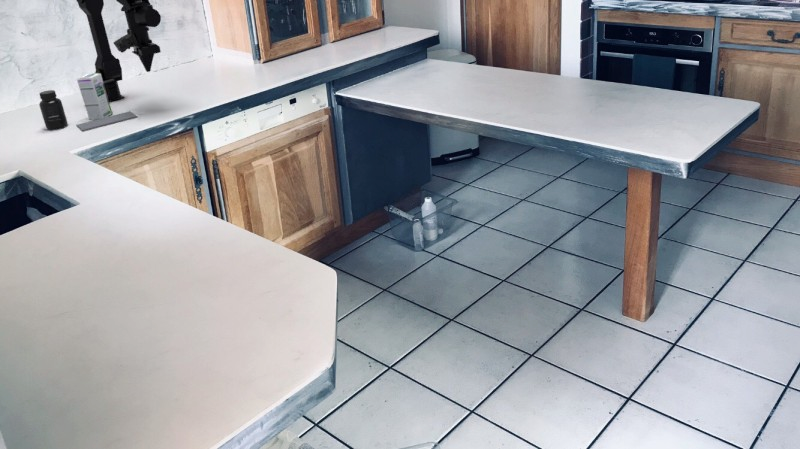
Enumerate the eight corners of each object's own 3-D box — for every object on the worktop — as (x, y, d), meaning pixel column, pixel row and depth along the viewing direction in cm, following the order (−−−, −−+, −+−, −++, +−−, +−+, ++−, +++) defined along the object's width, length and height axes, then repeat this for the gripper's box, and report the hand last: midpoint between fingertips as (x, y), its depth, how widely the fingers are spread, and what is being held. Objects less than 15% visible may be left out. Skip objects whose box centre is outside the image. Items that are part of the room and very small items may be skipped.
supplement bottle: (54, 131, 240) (43, 96, 235) (42, 129, 243) (31, 94, 238) (72, 124, 245) (62, 89, 240) (60, 122, 248) (49, 88, 243)
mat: (76, 126, 243) (76, 124, 243) (130, 112, 252) (129, 111, 251) (82, 131, 237) (82, 130, 237) (137, 117, 246) (137, 115, 245)
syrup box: (103, 119, 247) (91, 77, 241) (88, 119, 248) (76, 78, 242) (112, 114, 252) (101, 72, 246) (97, 114, 253) (85, 73, 247)
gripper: (104, 26, 244) (116, 72, 251) (121, 33, 230) (133, 81, 237) (137, 20, 250) (148, 65, 257) (155, 26, 236) (166, 74, 243)
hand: (148, 71), depth 248 cm, fingers closed
